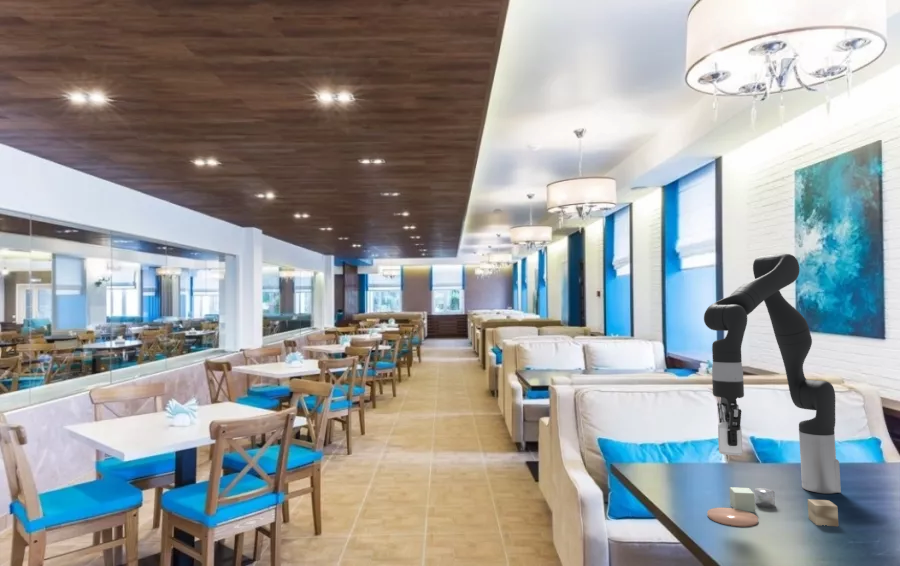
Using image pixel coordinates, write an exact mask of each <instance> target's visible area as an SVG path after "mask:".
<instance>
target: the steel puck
mask: <svg viewBox="0 0 900 566" xmlns="http://www.w3.org/2000/svg"><path fill="white" fill-rule="evenodd" d="M753 493H754V496H755V506H757V507H761V508H764V509H765V508H766V509H773V508H776V495H775V494H776V491H774V490H772V489H769V488H766V487H765V488H763V487H758V488H754V491H753Z"/></svg>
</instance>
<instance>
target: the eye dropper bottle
mask: <svg viewBox="0 0 900 566" xmlns="http://www.w3.org/2000/svg"><path fill="white" fill-rule="evenodd" d="M728 419H729V418H728ZM732 425H734V422H733V423H732ZM736 432H737V431H736ZM717 433H718V434H717V439H718V441H717V442H718V452H719V454H721V455H726V456H742V455H743V438H742V437H743V433H742V426H741V425H740V430H738V432H737V446H729V445H728V441H727V426H726V422H721V423H720V422H719V423H718V424H717Z"/></svg>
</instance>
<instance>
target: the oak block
mask: <svg viewBox="0 0 900 566" xmlns="http://www.w3.org/2000/svg"><path fill="white" fill-rule="evenodd" d="M838 508H839V507H838V505H836V504H835V503H834V502H832V501H830V500H827V499H812V498H811V499H809V498H807V514H808V519H809V520H810V521H811V522H812V523H813V524H814V525H816V526H822V525H824V526H825V525H827V527H838V526H839V512H838V511H839V510H838ZM825 527H826V526H825Z"/></svg>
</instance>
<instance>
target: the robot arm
mask: <svg viewBox="0 0 900 566" xmlns="http://www.w3.org/2000/svg"><path fill="white" fill-rule="evenodd" d="M752 272H753V276H754V279H752V280H750V281H747V282H745V283H743V284H742V285H740V286H739V287H737V289H736V290H734V291H733V292H732V293H731V294H730V295H728V296H726V297H723V298H722V299H719V300H717V301H715V302H714V303H712V304H709V306H708V307H707V308H706V310H705V311H704V314H703V321H704V324H705V326H706V327H707V328H708V329H710V330H712V331H718V332H719V331H720V332H725V331H727V333H726V336H725V337H724V338H721V339H717V340H714V341H713V342H712V347H711V349H712V350H711V351H712V352H711V353H712V368H711V376H712V377H711V378H712V379H711V380H712V383H711V384H712V395H713V396H714V397H716V398H720V402H717V411H718V413H717V414H718V418H719V419H718V420H719V423H721V422H726V426H727V441H728V445H729V446H737V432H738V430H740V426H741V423H742V421H741V419H742V410H741V408H740V406H739V404H738V403H737V399H742V398H744V396H745V387H744V369H743V363H742V344H743V341H744V335H745V331H746V328H747V324H748V315H749V314H752V312H753V311H754V310H755V309H756V308H757V307H759V305H761V303H763V302H764V303H765V307H766V309H767V312H768V313H767V314H768V315H769V319H770V322H771V325H772V329H773V333H774V336H775V340H776V343H777V346H778V349H779V351H780V352H779V353H780V354H781V358H782V362H783V365H784V371H785V374H786V380H787V384H788V389H789V395H790V398H791V401H792V403H793V404H794V406H795V407H797V408H798V409H801V410H807V411H808V410H810V411H815V417H813V418H811V419H807V420H801V421H800V422H799V423H798V435H799V456H800V457H799V458H800V474H801V488H802V489H803V490H806V491H808V492H809V491H810V492H813V493H818V494H829V495H830V494H837V493H839V494H841V493H842V491H841V490H842V488H841V474H840V473H841V472H840V471H841V470H840V460H839V459H837V456H836V455H837V454H836V453H837V452H836V450H837V449H836V438H835V437H836V435H835V429H836V428H835V427H836V391H835V388H834V386H833V384H832V383H831V382H829V381H827V380H818V379H817V380H813V379H807V378H806V377H805V373H804V363H805V361H806V358H807V356H808V354H809V352H810V349H811V348H812V344H813V339H812V335H811V332H810V327H809V325H808V321H807V320H806V318H805V317H804V316H803V315H802V313H800V311H798V310H797V309H796V308H795V307H794V306H793V305H791V304H790V303H789V302H788V301H787V299H785V297H784V296H783V295H782V293H781V291H780V290H782V289H784V288H785V287H787V286H790V285H791V284H793V283H794V282H795V281H796V280H797V279H798V277H799V274H800V264H799V262H798V259H797V258H796V256H794V255H793V254H791V253H778V254H769V255H762V256H758V257H755V259H754V261H753V264H752ZM728 418H729V419H728ZM733 422H734V425H732V423H733ZM736 431H737V432H736Z"/></svg>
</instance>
